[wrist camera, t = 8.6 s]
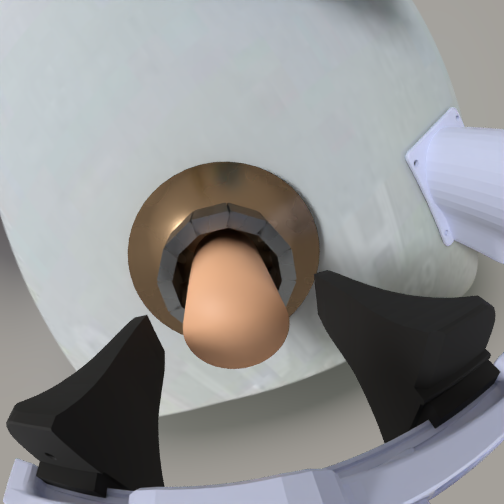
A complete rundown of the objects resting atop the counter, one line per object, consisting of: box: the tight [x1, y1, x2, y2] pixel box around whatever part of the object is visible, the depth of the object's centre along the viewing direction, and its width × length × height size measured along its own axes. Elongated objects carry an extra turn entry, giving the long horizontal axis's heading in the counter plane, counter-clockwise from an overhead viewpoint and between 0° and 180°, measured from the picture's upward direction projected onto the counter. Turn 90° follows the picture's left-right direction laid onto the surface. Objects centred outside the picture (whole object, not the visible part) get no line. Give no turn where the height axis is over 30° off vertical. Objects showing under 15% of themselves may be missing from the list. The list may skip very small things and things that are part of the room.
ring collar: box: [128, 162, 320, 335], centre depth 16 cm, size 12×12×3 cm
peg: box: [183, 229, 289, 369], centre depth 13 cm, size 4×4×7 cm
